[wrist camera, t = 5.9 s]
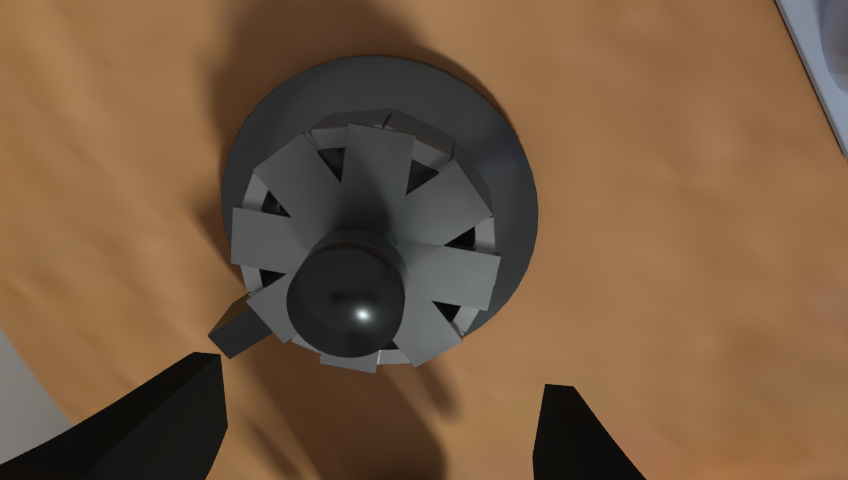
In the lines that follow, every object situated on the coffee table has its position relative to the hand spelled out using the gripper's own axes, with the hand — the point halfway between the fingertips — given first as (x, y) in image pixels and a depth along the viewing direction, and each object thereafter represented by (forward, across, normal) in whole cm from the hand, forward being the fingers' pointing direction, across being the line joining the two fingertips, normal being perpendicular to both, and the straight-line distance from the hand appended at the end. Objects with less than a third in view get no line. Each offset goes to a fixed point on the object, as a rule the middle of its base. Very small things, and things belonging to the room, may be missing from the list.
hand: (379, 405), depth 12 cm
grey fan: (+10, +2, 0) cm, 10 cm away
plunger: (+9, +1, -1) cm, 10 cm away
